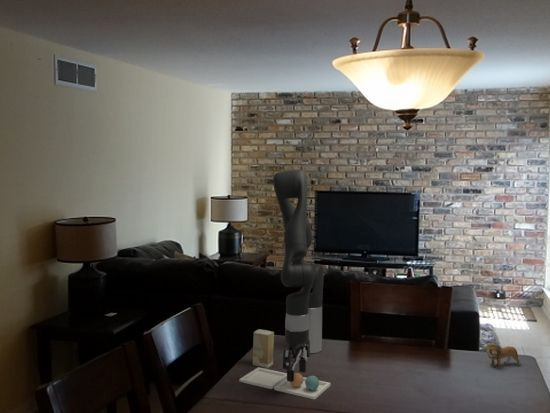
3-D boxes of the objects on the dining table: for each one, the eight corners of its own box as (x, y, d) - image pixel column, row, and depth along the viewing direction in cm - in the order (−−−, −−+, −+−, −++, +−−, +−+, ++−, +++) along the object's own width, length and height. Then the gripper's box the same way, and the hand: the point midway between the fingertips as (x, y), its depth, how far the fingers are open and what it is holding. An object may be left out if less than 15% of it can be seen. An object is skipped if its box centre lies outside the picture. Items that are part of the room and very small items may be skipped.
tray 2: (291, 378, 187) (291, 374, 187) (330, 386, 180) (330, 383, 180) (274, 391, 177) (274, 387, 177) (314, 400, 170) (314, 396, 170)
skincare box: (252, 365, 198) (252, 331, 197) (258, 361, 202) (258, 328, 201) (268, 369, 195) (268, 334, 194) (274, 365, 199) (274, 331, 198)
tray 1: (258, 370, 193) (258, 367, 193) (289, 377, 188) (289, 373, 188) (239, 382, 183) (239, 379, 183) (271, 390, 177) (271, 386, 177)
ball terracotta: (293, 381, 183) (292, 368, 182) (305, 384, 180) (305, 371, 180) (287, 387, 179) (286, 375, 178) (299, 390, 177) (298, 378, 176)
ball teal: (308, 385, 180) (309, 372, 179) (321, 388, 178) (321, 375, 177) (302, 390, 176) (302, 377, 176) (315, 393, 174) (315, 380, 173)
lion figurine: (492, 371, 194) (493, 346, 193) (481, 366, 199) (482, 341, 198) (524, 365, 200) (525, 340, 199) (512, 360, 205) (513, 336, 204)
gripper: (296, 319, 186) (296, 367, 187) (275, 331, 173) (275, 381, 175) (317, 322, 182) (316, 371, 184) (297, 334, 170) (296, 386, 171)
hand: (296, 376), depth 179 cm, fingers open, 8 cm apart
